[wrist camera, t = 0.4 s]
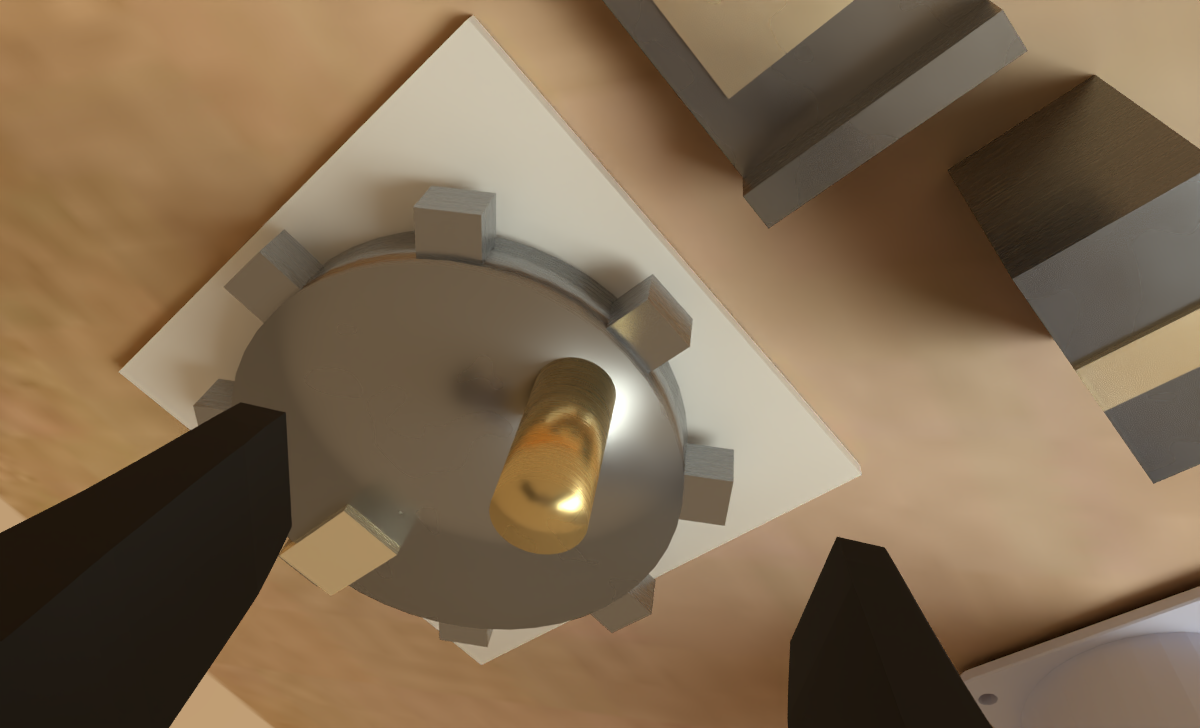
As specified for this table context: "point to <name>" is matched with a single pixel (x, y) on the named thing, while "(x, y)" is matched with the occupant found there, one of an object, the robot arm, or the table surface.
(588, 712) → the table surface
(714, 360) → the board
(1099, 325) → the banded grey block
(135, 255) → the table surface
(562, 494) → the sprocket
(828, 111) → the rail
